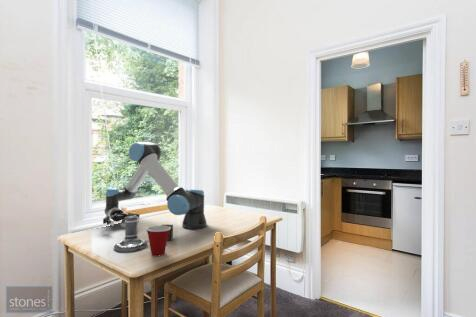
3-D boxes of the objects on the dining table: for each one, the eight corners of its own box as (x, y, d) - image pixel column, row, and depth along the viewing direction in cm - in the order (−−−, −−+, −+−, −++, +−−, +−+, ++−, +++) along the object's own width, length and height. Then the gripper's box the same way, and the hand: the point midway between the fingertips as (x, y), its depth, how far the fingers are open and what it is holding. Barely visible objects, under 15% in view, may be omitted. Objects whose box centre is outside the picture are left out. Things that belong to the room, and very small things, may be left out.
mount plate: (151, 241, 133) (151, 237, 133) (140, 252, 118) (140, 248, 118) (122, 241, 133) (122, 237, 133) (107, 252, 118) (107, 247, 118)
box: (161, 238, 139) (161, 224, 139) (173, 237, 139) (173, 224, 139) (159, 241, 133) (159, 227, 133) (171, 241, 133) (171, 227, 133)
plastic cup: (175, 250, 120) (175, 225, 120) (161, 259, 110) (161, 231, 110) (155, 247, 124) (156, 223, 124) (140, 256, 114) (140, 229, 114)
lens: (139, 235, 143) (139, 215, 142) (134, 239, 136) (134, 218, 136) (127, 235, 143) (128, 215, 142) (122, 239, 136) (123, 218, 136)
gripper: (136, 217, 171) (147, 224, 155) (93, 223, 155) (101, 232, 139) (136, 206, 171) (147, 212, 155) (93, 211, 155) (101, 218, 139)
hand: (125, 221), depth 147 cm, fingers open, 13 cm apart
